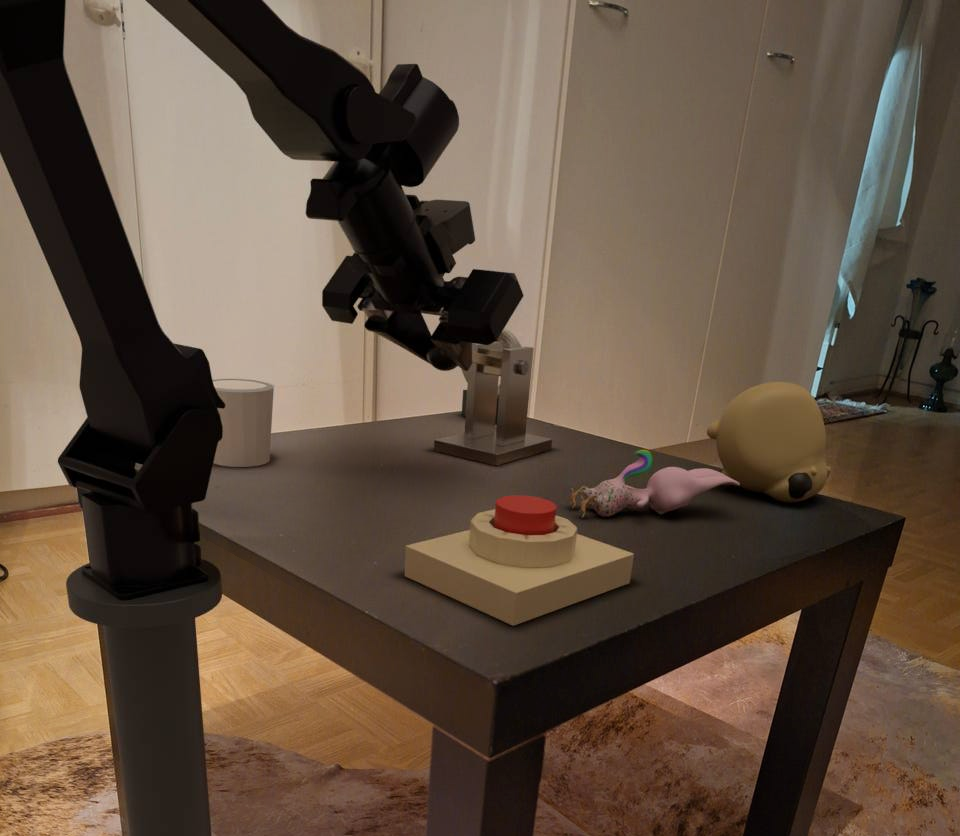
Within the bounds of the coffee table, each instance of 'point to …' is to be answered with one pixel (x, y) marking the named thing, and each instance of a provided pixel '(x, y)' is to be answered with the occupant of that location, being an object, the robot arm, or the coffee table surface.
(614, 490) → the pink toy creature
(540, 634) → the coffee table surface
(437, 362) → the lever
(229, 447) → the white cup
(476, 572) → the control block
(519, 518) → the button
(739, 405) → the tan animal figure
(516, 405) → the switch bracket
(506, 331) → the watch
